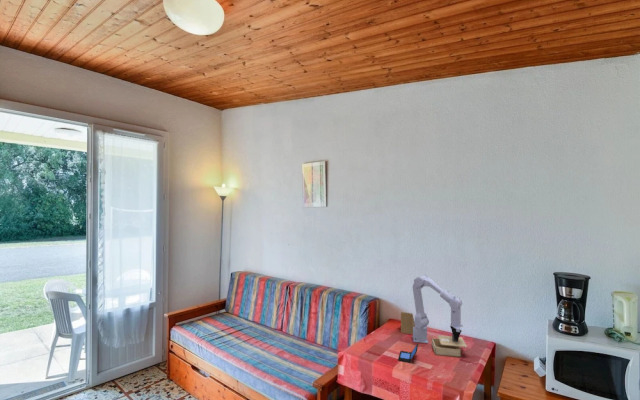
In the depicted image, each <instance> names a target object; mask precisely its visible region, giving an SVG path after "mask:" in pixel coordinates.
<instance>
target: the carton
mask: <svg viewBox="0 0 640 400" xmlns="http://www.w3.org/2000/svg"><path fill="white" fill-rule="evenodd" d="M431 347H432V350H433V352H434V355H435V356H446V357H453V358H454V357H457V358H461V357H462V349H461V347H458V346H447V345H441V343H440V341H439V338H435V337H433V338H431Z"/></svg>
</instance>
